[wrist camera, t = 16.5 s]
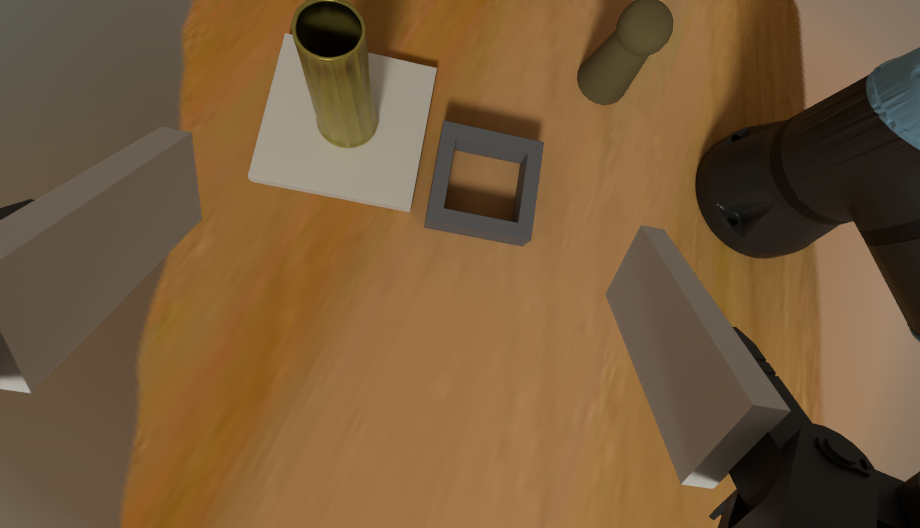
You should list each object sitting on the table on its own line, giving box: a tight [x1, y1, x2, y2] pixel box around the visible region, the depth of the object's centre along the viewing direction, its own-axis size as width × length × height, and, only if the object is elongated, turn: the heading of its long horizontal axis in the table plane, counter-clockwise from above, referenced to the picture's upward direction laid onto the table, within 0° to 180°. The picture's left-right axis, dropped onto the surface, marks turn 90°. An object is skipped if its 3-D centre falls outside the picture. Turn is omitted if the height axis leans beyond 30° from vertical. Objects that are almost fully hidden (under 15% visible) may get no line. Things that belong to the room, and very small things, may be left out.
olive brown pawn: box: [577, 0, 673, 105], centre depth 48 cm, size 6×6×11 cm
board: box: [248, 33, 437, 212], centre depth 47 cm, size 16×16×1 cm
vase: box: [291, 0, 378, 148], centre depth 40 cm, size 6×6×14 cm
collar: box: [424, 121, 544, 246], centre depth 47 cm, size 11×11×3 cm
